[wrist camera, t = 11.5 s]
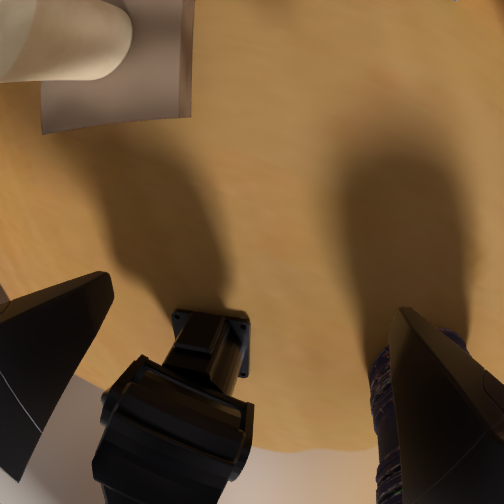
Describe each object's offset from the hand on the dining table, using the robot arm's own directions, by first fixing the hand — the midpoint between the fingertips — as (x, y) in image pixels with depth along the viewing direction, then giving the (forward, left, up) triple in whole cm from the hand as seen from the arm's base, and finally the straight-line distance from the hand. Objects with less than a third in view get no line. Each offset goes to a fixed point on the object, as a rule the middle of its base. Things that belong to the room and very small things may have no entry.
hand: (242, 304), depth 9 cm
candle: (+11, +12, -10) cm, 19 cm away
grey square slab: (+11, +12, -12) cm, 20 cm away
